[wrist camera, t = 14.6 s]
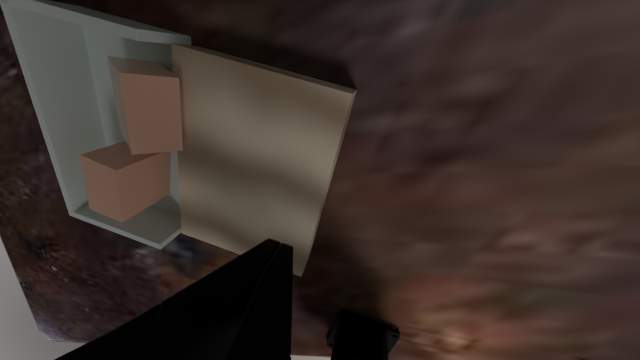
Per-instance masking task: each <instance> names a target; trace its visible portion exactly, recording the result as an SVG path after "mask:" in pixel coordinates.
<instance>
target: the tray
mask: <svg viewBox="0 0 640 360" xmlns="http://www.w3.org/2000/svg"><path fill="white" fill-rule="evenodd" d="M0 4H1V7H2V10H3V13H4V17H5V20H6V23H7V26H8V29H9V32H10V35H11V38H12V41H13V44H14V47H15V50H16V53H17V56H18V59H19V62H20V65H21V68H22V72H23V75H24V78H25V81H26V84H27V87H28V90H29V93H30V96H31V99H32V102H33V105H34V108H35V111H36V114H37V117H38V120H39V123H40V126H41V130H42V133H43V136H44V139H45V142H46V145H47V148H48V151H49V154H50V157H51V160H52V163H53V166H54V169H55V172H56V175H57V178H58V181H59V185H60V188H61V191H62V194H63V197H64V200H65V203H66V206H67V209H68V212H69V215H70V216H73V217H75V218H78V219H81V220H83V221H86V222H89V223H91V224H94V225H97V226H99V227H102V228H105V229H107V230H110V231H113V232H115V233H118V234H121V235H123V236H126V237H129V238H131V239H134V240H137V241H139V242H142V243H145V244H147V245H150V246H152V247H155V248H158V249H162V248H163V247H164V246H165V245H166V244H168V243H169V242H170V241H171V240H172V239H174V238H175V237H176V236H177V235H178V234H180V233H181V232H182V229H181V211H180V193H179V175H178V157H177V151H171V169H170V194H169V195H167V196H166V197H164V198H162V199H161V200H159V201H157V202H156V203H154V204H152V205H151V206H149V207H148V208H146V209H144V210H143V211H141V212H139V213H138V214H136V215H135V216H133V217H131V218H130V219H128V220H126V221H125V222H123V223H121V222H118V221H116V220H114V219H112V218H109V217H107V216H105V215H103V214H100V213H98V212H96V211H94V210H91V209H90V208H89V203H88V197H87V192H86V187H85V181H84V176H83V170H82V165H81V160H80V154H84V153H87V152H90V151H94V150H97V149H100V148H104V147H107V146H110V145H113V144H117V143H120V142H123V141H125V138H124V136H123V134H122V132H121V129H120V127H119V121H118V115H117V110H116V104H115V98H114V93H113V87H112V81H111V76H110V70H109V64H108V59H107V56H111V57H120V58H128V59H136V60H144V61H152V62H159V63H161V64H162V65H163V66H164V67H166V68H167V69H168V70H169V71H171V72H172V73H173V67H172V50H171V44H182V45H191V36H188V35H184V34H180V33H177V32H173V31H169V30H166V29H162V28H158V27H155V26H151V25H147V24H144V23H140V22H136V21H133V20H129V19H125V18H122V17H118V16H114V15H111V14H107V13H103V12H100V11H96V10H92V9H89V8H85V7H81V6H77V5H72V4H66V3H61V2H56V1H50V0H0Z"/></svg>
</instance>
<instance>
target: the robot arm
mask: <svg viewBox="0 0 640 360" xmlns="http://www.w3.org/2000/svg"><path fill="white" fill-rule="evenodd" d="M292 286H293V246H291V245H289V244H286V243H280V241H277V240H274V239H271V238H268V239H266V240H265V241H263V242H261V243H260V244H258V245H256V246H255V247H253V248H251V249H249V250H248V251H246V252H244V253H243V254H241V255H239V256H238V257H236V258H234V259H233V260H231V261H229V262H228V263H226V264H224V265H223V266H221V267H219V268H218V269H216V270H214V271H212V272H211V273H209V274H207V275H206V276H204V277H202V278H201V279H199V280H197V281H196V282H194V283H192V284H191V285H189V286H187V287H186V288H184V289H182V290H181V291H179V292H177V293H175V294H174V295H172V296H170V297H169V298H167V299H165V300H164V301H162V302H161V304H157V305H155V306H153V307H152V308H150V309H148V310H147V311H145V312H143V313H142V314H140V315H138V316H136V317H135V318H133V319H131V320H129V321H128V322H126V323H124V324H122V325H120V326H119V327H117V328H115V329H113V330H111V331H109V332H108V333H106V334H104V335H102V336H100V337H98V338H96V339H94V340H92V341H90V342H88V343H86V344H85V345H83V346H81V347H79V348H77V349H75V350H73V351H71V352H69V353H67V354H65V355H63V356H61V357H59V358H57V359H55V360H291V357H290V355H291V328H292ZM399 338H400V332H399V331H398V330H396V329H394V328H391V327H388V326H386V325H383V324H380V323H378V322H375V321H372V320H370V319H367V318H364V317H361V316H359V315H356V314H353V313H351V312H348V311H345V310H341V311H340V312H339V314H338V316H337V319H336V321H335V323H334V326H333V328H332V330H331V332H330V335H329V337H328V339H327V346H328V347H330V348H333V349H332V354H331V360H388V354H389V352H390V351H391V350H392V348H393V347H394V345H395V344H396V342H397V341H398V339H399Z"/></svg>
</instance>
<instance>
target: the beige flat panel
mask: <svg viewBox="0 0 640 360" xmlns="http://www.w3.org/2000/svg"><path fill="white" fill-rule="evenodd" d="M171 50H172V67H173V74H175V75H176V76H177V77H178V78H179V85H180V104H181V124H182V143H183V150H182V151H177V157H178V175H179V193H180V211H181V229H182V233H183V234H185V235H188V236H191V237H194V238H196V239H199V240H202V241H205V242H207V243H210V244H213V245H215V246H218V247H221V248H224V249H226V250H229V251H232V252H235V253H237V254H240V255H241V254H243V253H244V252H246V251H248V250H249V249H251V248H253V247H255V246H256V245H258V244H260V243H261V242H263V241H265V240H266V239H268V238H271V239H274V240H277V241H280V243H286V244H289V245H291V246H293V274H295V275H298V276H300V277H302V274H303V272H304V269H305V266H306V264H307V261H308V258H309V255H310V252H311V248H312V245H313V241H314V238H315V234H316V231H317V227H318V224H319V220H320V217H321V213H322V210H323V207H324V203H325V200H326V196H327V193H328V189H329V186H330V182H331V179H332V175H333V172H334V168H335V165H336V161H337V158H338V154H339V151H340V147H341V144H342V140H343V137H344V133H345V130H346V126H347V123H348V119H349V116H350V112H351V109H352V105H353V102H354V98H355V95H356V91H357V90H355V89H352V88H348V87H344V86H341V85H337V84H334V83H330V82H326V81H323V80H319V79H315V78H312V77H308V76H305V75H301V74H297V73H294V72H290V71H286V70H283V69H279V68H276V67H272V66H268V65H265V64H261V63H257V62H254V61H250V60H247V59H243V58H239V57H236V56H232V55H229V54H225V53H221V52H218V51H214V50H210V49H207V48H203V47H200V46H193V45H182V44H171Z"/></svg>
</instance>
